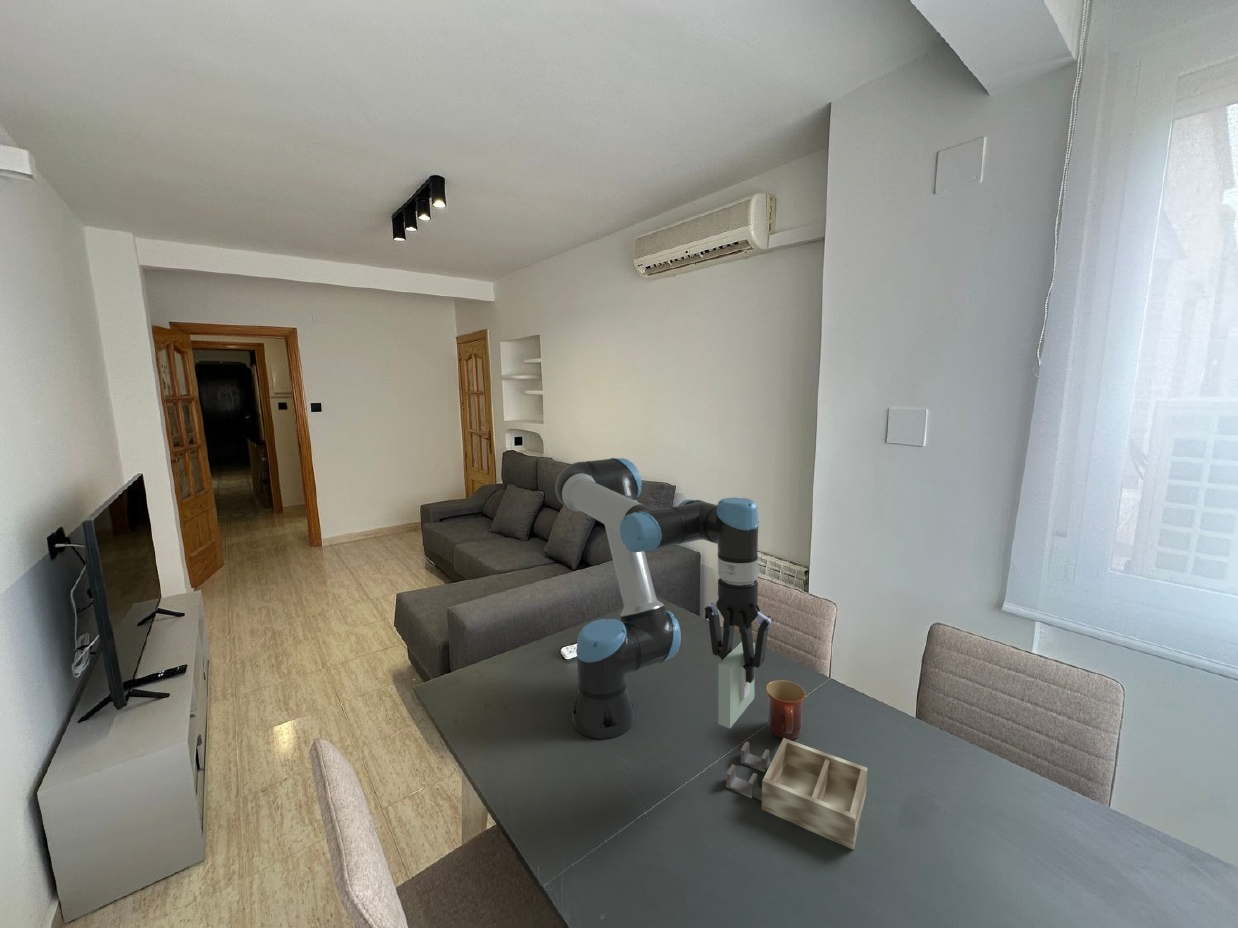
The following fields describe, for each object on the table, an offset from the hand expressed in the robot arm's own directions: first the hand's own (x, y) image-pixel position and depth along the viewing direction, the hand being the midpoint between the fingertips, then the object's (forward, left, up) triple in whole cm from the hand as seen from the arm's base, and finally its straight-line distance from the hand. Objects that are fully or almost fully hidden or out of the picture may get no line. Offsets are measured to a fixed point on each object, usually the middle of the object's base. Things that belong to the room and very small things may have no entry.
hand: (737, 692), depth 100 cm
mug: (+5, +19, -19) cm, 27 cm away
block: (0, 0, -4) cm, 4 cm away
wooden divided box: (+11, +3, -19) cm, 22 cm away
